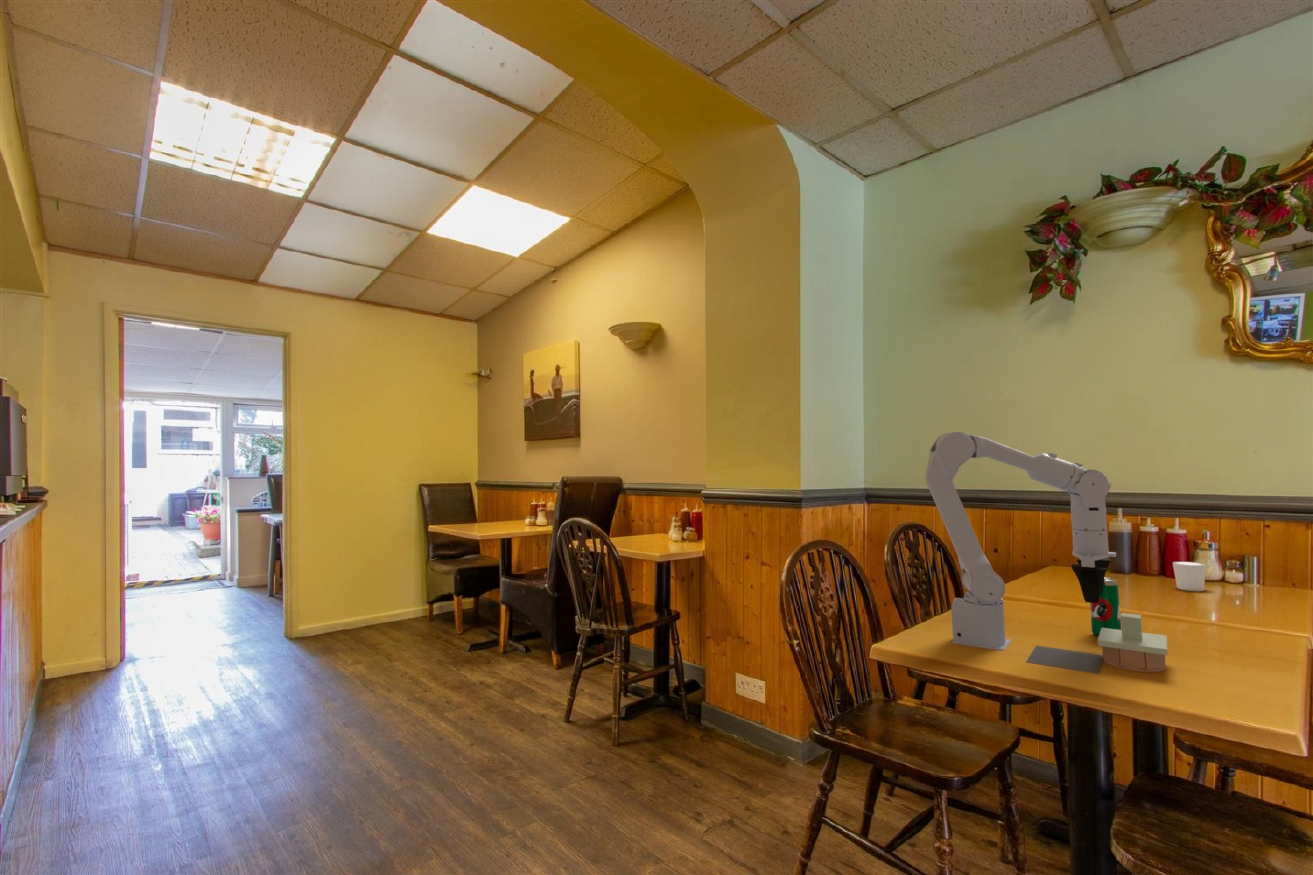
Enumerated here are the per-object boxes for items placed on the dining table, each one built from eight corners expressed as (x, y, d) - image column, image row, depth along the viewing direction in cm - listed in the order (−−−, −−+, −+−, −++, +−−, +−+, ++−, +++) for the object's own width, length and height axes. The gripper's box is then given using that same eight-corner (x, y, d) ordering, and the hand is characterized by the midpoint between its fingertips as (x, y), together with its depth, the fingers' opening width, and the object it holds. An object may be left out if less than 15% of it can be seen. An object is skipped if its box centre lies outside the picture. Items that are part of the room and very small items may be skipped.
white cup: (1185, 591, 163) (1183, 565, 163) (1168, 586, 170) (1166, 561, 170) (1214, 591, 162) (1212, 565, 162) (1195, 586, 169) (1194, 561, 169)
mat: (1026, 664, 112) (1025, 661, 112) (1036, 647, 121) (1036, 645, 121) (1099, 676, 105) (1099, 673, 105) (1104, 657, 114) (1104, 655, 114)
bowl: (1102, 667, 109) (1100, 645, 109) (1105, 654, 116) (1104, 633, 116) (1165, 677, 103) (1164, 654, 103) (1165, 663, 110) (1164, 641, 110)
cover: (1097, 645, 109) (1096, 617, 109) (1101, 632, 116) (1100, 606, 117) (1167, 655, 103) (1165, 625, 103) (1167, 641, 110) (1165, 613, 110)
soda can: (1126, 640, 124) (1122, 581, 124) (1098, 638, 125) (1094, 580, 126) (1115, 633, 129) (1111, 576, 129) (1087, 632, 130) (1084, 576, 131)
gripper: (1112, 534, 112) (1116, 608, 111) (1116, 526, 123) (1120, 593, 123) (1066, 532, 116) (1070, 603, 116) (1074, 524, 128) (1078, 589, 127)
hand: (1093, 598), depth 120 cm, fingers open, 7 cm apart
